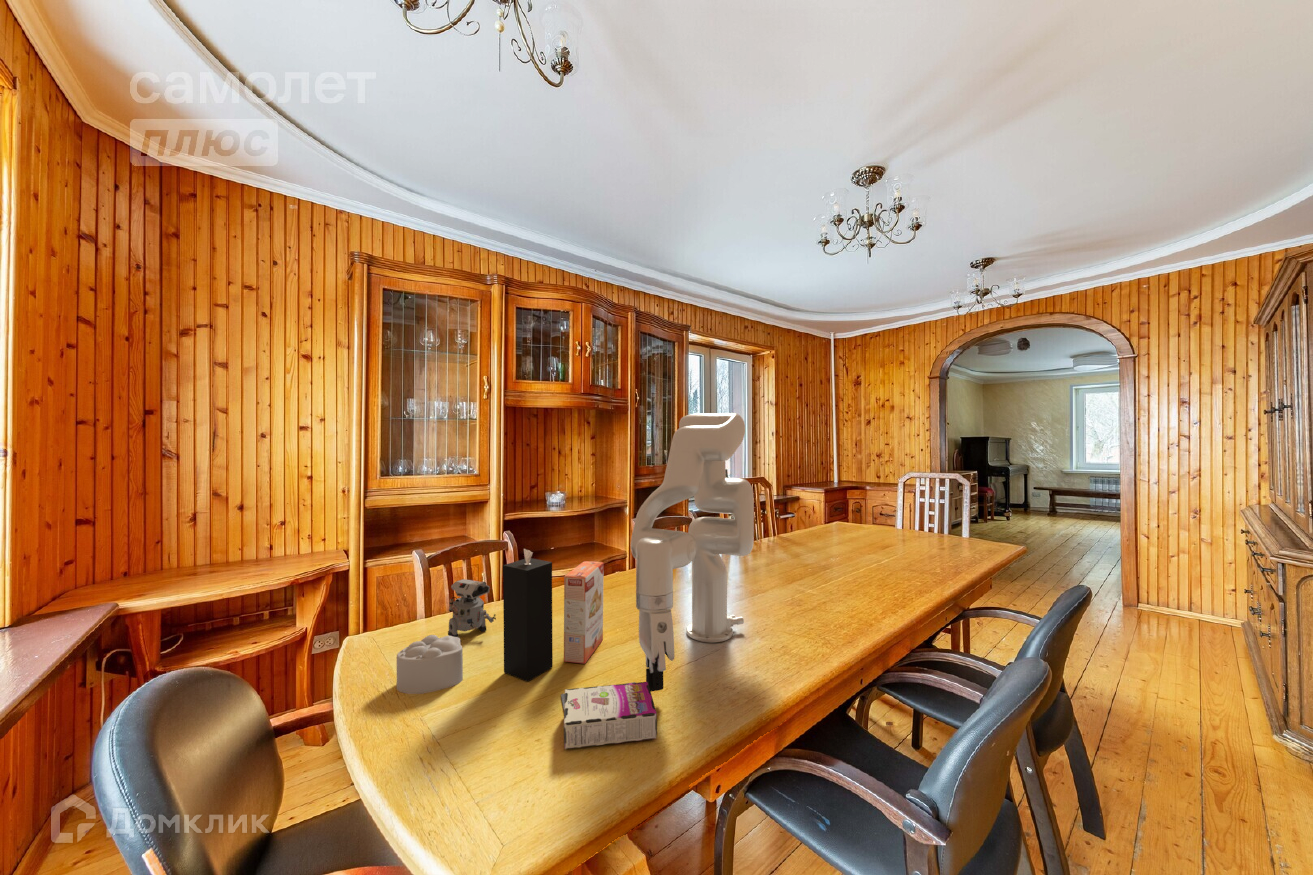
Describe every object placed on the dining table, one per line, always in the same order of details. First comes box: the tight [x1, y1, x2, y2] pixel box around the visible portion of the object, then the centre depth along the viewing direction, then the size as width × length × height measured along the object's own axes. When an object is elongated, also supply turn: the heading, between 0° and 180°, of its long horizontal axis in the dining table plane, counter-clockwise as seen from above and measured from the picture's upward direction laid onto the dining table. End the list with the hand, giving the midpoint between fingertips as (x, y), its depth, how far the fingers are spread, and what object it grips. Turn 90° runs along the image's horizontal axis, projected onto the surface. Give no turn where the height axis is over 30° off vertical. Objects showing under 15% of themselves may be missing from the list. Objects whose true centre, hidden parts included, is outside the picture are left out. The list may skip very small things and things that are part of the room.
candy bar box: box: [563, 681, 658, 750], centre depth 89 cm, size 11×5×16 cm
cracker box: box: [563, 560, 605, 665], centre depth 120 cm, size 14×6×21 cm, turn 168°
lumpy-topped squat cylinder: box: [396, 634, 464, 695], centre depth 106 cm, size 10×13×9 cm
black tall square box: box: [502, 548, 554, 682], centre depth 110 cm, size 8×8×28 cm
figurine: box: [447, 578, 497, 638], centre depth 129 cm, size 9×12×15 cm
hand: (654, 688), depth 98 cm, fingers closed
